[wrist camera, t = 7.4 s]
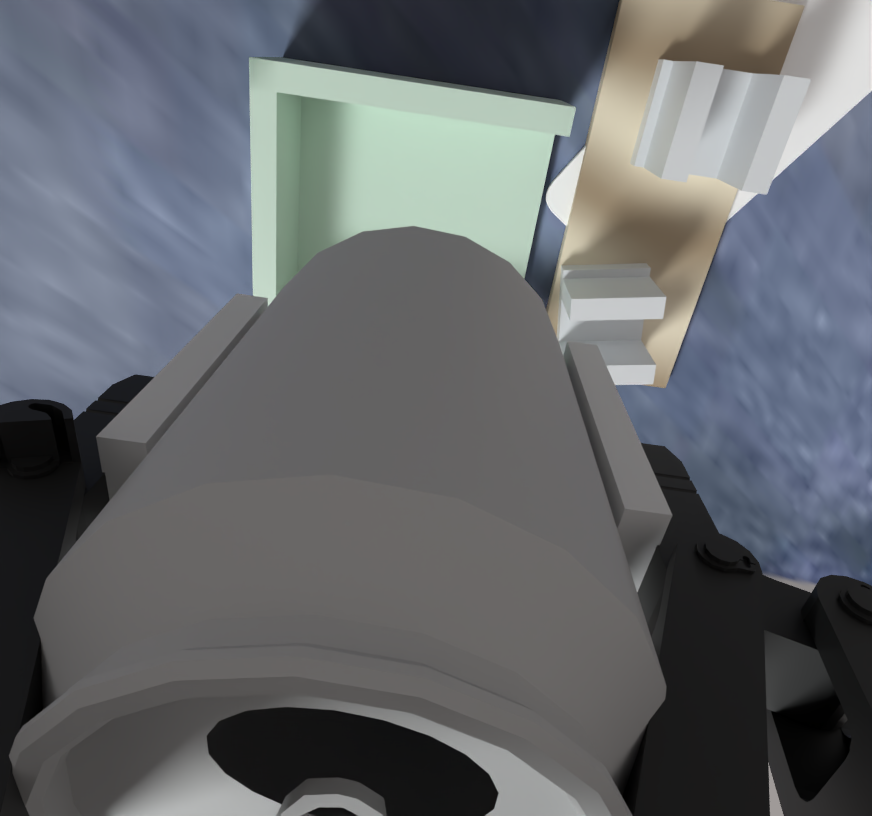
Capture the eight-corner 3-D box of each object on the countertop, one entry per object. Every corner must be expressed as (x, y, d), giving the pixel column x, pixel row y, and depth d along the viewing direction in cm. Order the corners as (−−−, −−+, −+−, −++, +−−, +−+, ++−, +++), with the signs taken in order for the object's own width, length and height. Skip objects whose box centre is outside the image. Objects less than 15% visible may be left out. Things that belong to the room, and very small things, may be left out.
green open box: (282, 57, 26) (249, 57, 22) (560, 100, 26) (576, 107, 22) (280, 319, 32) (254, 356, 28) (507, 352, 32) (512, 392, 28)
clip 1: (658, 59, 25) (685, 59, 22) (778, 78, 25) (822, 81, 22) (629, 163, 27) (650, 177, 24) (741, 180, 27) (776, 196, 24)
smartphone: (537, 197, 28) (837, -128, 22) (535, 194, 29) (827, -123, 23) (642, 299, 30) (942, 28, 24) (638, 294, 31) (930, 28, 25)
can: (608, 282, 15) (924, 793, 5) (490, 506, 19) (516, 1077, 8) (312, 168, 14) (-146, 488, 4) (248, 427, 18) (-74, 964, 7)
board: (624, -21, 24) (627, -23, 24) (797, 6, 24) (805, 5, 24) (533, 364, 33) (534, 369, 32) (662, 382, 33) (665, 388, 32)
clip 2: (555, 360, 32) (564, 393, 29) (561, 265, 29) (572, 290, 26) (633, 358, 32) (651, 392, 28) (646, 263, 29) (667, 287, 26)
